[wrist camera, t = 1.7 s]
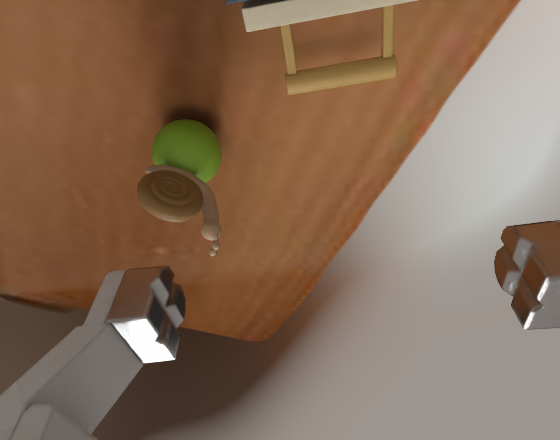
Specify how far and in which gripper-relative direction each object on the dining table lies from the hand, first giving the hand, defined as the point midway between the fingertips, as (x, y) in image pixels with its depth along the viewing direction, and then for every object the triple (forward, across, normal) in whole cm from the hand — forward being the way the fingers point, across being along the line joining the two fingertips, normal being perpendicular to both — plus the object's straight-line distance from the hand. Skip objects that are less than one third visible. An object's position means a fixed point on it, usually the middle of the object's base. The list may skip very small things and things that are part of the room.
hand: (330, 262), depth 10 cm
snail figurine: (+23, +10, +8) cm, 26 cm away
